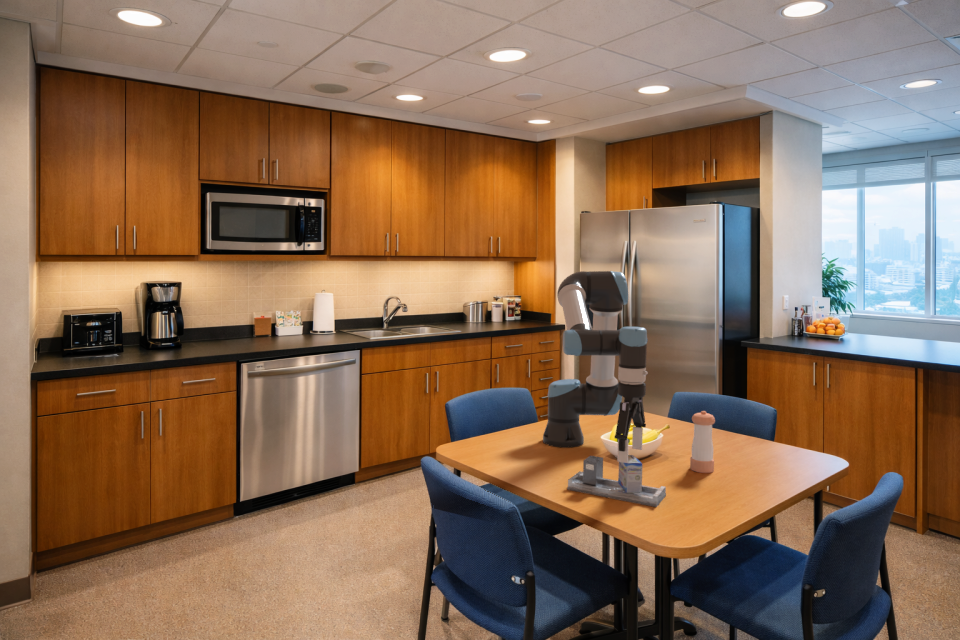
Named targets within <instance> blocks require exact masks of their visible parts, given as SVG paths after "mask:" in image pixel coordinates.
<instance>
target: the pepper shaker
mask: <svg viewBox="0 0 960 640" xmlns="http://www.w3.org/2000/svg"><path fill="white" fill-rule="evenodd" d="M691 420H692V423H693V424H694V425H693V428H694V429H693V439H692V444H691V456H690V458H689V461H690V463H689V464H690V465H689V469H690V470H691V471H693V472H697V473H701V474H702V473H703V474H709V473H710V474H711V473H713V472H714V470H715V459H714V445H713V444H714V443H713V425H714V424H715V423H716V418H715V416H714V415H713V414H712V413H711V414H710V413H707V411H706V410H701V411H700V412H696V413H694V414H693V415H692V417H691Z"/></svg>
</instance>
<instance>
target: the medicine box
mask: <svg viewBox="0 0 960 640" xmlns="http://www.w3.org/2000/svg"><path fill="white" fill-rule="evenodd" d="M617 478H618V480H617V481H618V483H619V485H620V486H621V487H622V488H623V489H624V490H625V491H626V492H627V493H641V492H642V485H643V463H642V462H641V461H640V460H639V459H638V458H637V457H636V456H635V455H633V454H628V463H624V462H618V477H617Z"/></svg>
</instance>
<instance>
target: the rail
mask: <svg viewBox="0 0 960 640" xmlns="http://www.w3.org/2000/svg"><path fill="white" fill-rule="evenodd" d="M582 468H583V469H582V470H583V471H581V470H580V471H578V472H577V473H575V474H574V475H573V476H571V477H570V478H569V479H568V480H567V487H566V488H567V491H573V492H576V493H577V492H578V493H583V494H586V495H594V496H598V497H603V498H608V499H613V500H617V501H623V502H627V503H628V502H629V503H631V504H632V503H633V504H638V505H644V506H647V507H653V508H657V507H658V506H659V505H660V504H661V502H662V501H663V500H664V499H665V497H666V496H667V492H666V489H667V488H666V486H663V485H661V486H660V487H655V486H654V487H653V486H648V485H644V484H642V492H641V493H627V492H626V491H625V490H624V489H623V488H622V487H621V486H620V485H619V483H618V480H617V479H616V480H615V479H609V478H604V457H601V456H595V455H589V456H588V457H586V458H585V459H583V467H582Z"/></svg>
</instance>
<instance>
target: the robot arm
mask: <svg viewBox="0 0 960 640" xmlns="http://www.w3.org/2000/svg"><path fill="white" fill-rule="evenodd" d="M557 289H558V290H557V292H556V293H557V300H558V303H559V305H560V306H561V308H562V311H563V316H564V320H565V325H566V330H564V331H563V334H562V350H563V351H562V352H563V353H564V354H565V355H567V356H576V357H578V356H579V357H580V356H590V374H589V375H588V376H586V379H585V383H581V381H580V380H579V379H576V378H573V379H572V378H567V379H558V380H555V381H553V382H551V383H550V384H549V385H548V389H547V390H548V392H547V398H548V399H547V400H548V401H547V424H546V426H545V429H544V432H543V434H542V442H543V444H545V445H548V446H550V447H555V448H575V447H580V445H581V446H583V445H584V442H585V441H584V439H585V438H584V434H583V431H582V427H581V424H580V416H604V417H605V416H614V415H617V414H618V416H617V422H616V423H617V424H616V430H615V435H614V439H616V440H617V459H616V461H617V463H619V462H624V463H628V455H629V439H628V436H629V433H630V428H631V423H632V422H633V426H632V446H631V447H632V448H631V449H633V450H639V451H641V450H643V434H644V433H643V430H644V429H643V428H646V425H647V424H646V418H645V416H646V415H645V410H644V401H643V398H644V397H645V396H646V389H647V387H646V386H647V385H646V383H645V382H646V380H647V379H646V378H647V375H648V374H649V372H648V371H647V352H648V351H647V349H648V348H647V347H648V340H649V339H648V331H647V329H646V328H645V327H640V326H623V327H621V328H620V329H618V315H619V314H620V313H621V312H622V311H623V309H624V308H623V305H624V306H625V305H628V303H629V287H628V282H627V277H626V276H625V274H624V273H623V272H621V271H615V270H614V271H612V270H605V271H604V270H600V271H595V270H594V271H585V270H583V271H577V272H574V273H572V274H570V275H568V276H567V277H565V278H564V279H563V280H562V282H561V283H560V284H559V287H558V288H557ZM587 305H589V306H588V307H589V310H590V312H592V313H593V314H592V316H593V317H592V324H591V320H590V316H589V312H588V309H587ZM616 356H618V373H617V375H618V377H617V378H616V377H615V370H616V369H615V365H616ZM623 398H624V399H623ZM622 399H623V400H622ZM622 401H623V402H622Z"/></svg>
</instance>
